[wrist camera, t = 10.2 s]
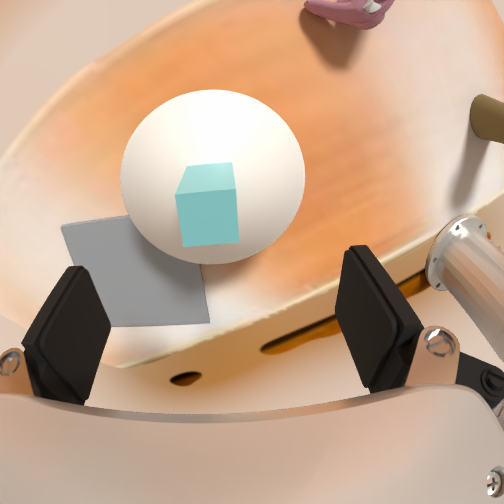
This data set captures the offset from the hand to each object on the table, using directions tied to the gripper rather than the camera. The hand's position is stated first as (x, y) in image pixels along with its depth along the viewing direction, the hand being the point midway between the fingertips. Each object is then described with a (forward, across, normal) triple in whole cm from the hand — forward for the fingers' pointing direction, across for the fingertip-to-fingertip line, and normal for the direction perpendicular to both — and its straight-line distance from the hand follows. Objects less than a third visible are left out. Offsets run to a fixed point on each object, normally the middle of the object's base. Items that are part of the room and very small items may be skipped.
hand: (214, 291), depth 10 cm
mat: (+18, +11, +12) cm, 24 cm away
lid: (+12, +1, 0) cm, 12 cm away
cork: (+19, -32, -7) cm, 38 cm away
